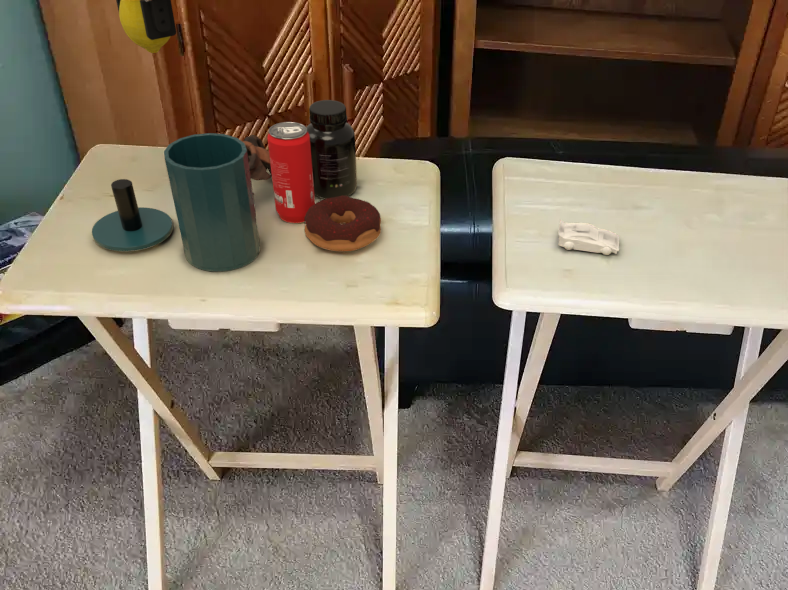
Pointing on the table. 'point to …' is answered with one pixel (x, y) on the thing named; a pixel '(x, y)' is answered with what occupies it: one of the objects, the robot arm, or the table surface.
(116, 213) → the lid
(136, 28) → the fruit
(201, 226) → the pot
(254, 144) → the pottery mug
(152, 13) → the robot arm
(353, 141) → the supplement bottle
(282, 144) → the beverage can
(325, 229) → the donut
